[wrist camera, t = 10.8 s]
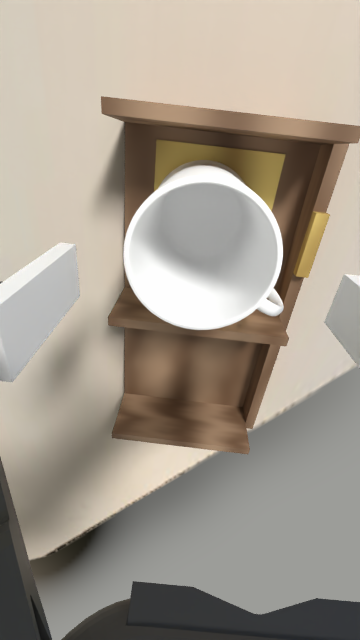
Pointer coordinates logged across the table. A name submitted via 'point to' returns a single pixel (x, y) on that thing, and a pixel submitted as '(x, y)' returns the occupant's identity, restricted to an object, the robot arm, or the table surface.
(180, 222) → the mug
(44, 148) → the table surface
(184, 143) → the rack
